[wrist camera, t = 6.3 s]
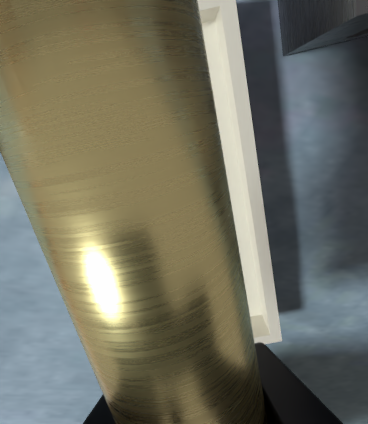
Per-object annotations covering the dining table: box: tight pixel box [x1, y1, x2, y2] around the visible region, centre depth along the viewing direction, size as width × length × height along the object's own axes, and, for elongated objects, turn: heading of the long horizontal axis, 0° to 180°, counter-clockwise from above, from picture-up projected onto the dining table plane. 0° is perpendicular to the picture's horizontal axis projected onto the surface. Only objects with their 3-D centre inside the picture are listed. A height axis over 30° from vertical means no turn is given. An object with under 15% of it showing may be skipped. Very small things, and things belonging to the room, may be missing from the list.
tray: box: [198, 0, 282, 344], centre depth 15 cm, size 17×8×2 cm, turn 12°
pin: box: [0, 0, 268, 424], centre depth 5 cm, size 13×5×5 cm, turn 12°
